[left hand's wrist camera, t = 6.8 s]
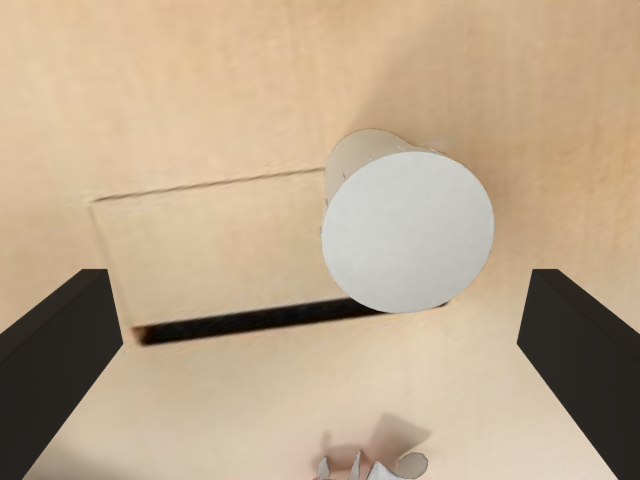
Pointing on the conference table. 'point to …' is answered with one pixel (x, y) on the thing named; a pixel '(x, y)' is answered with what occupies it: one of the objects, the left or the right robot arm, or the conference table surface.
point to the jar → (357, 151)
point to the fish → (382, 469)
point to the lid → (406, 229)
